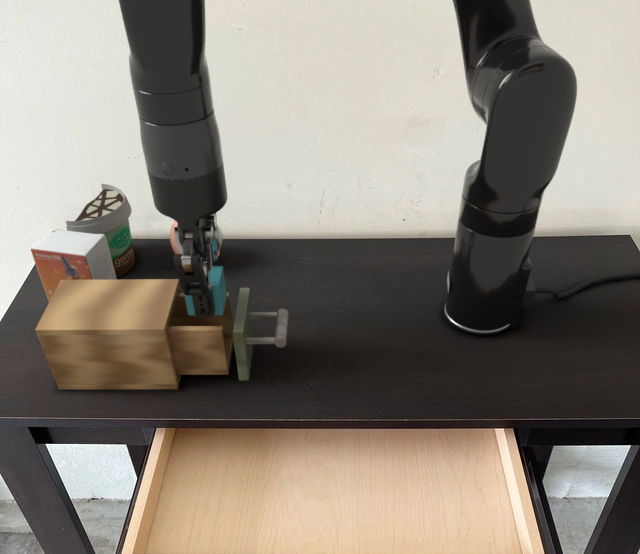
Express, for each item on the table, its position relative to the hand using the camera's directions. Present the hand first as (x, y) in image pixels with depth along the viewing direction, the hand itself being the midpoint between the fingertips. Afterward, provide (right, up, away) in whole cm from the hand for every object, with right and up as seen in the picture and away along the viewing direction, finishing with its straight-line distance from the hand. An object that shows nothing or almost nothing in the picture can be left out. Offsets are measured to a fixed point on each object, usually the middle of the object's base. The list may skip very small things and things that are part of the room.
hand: (208, 303), depth 77 cm
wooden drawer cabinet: (-11, -6, +7) cm, 15 cm away
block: (0, 0, 0) cm, 0 cm away
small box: (-19, +2, +15) cm, 25 cm away
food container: (-17, +10, +23) cm, 30 cm away
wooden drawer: (0, -6, +6) cm, 8 cm away
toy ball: (-5, +11, +23) cm, 26 cm away
